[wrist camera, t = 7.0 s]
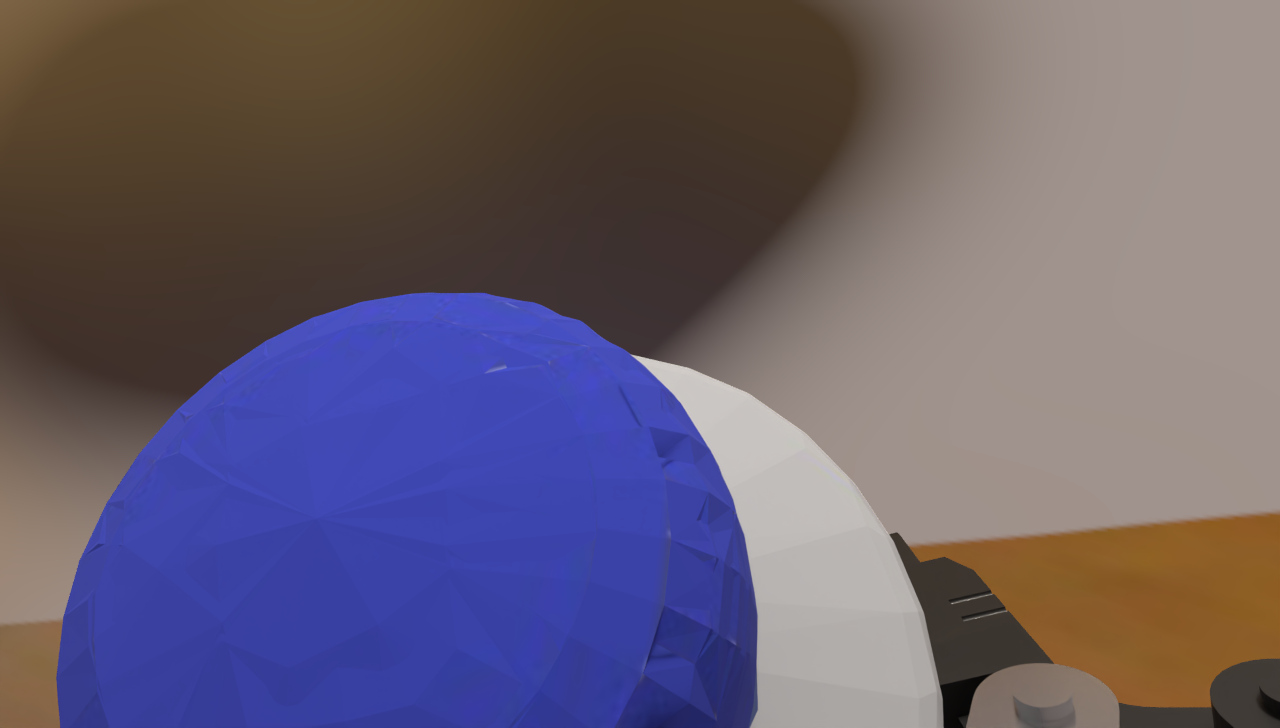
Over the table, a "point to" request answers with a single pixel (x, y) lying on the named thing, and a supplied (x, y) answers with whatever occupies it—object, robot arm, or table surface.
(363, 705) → the bottle
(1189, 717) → the robot arm
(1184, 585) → the table surface
